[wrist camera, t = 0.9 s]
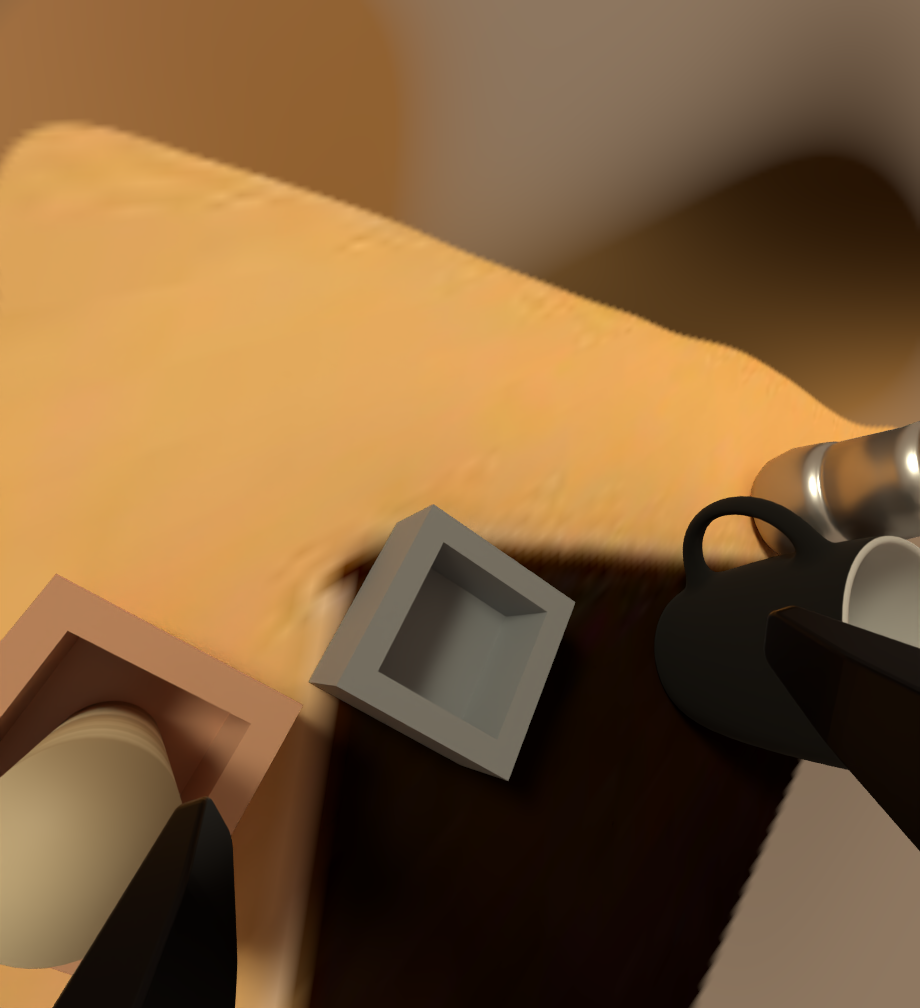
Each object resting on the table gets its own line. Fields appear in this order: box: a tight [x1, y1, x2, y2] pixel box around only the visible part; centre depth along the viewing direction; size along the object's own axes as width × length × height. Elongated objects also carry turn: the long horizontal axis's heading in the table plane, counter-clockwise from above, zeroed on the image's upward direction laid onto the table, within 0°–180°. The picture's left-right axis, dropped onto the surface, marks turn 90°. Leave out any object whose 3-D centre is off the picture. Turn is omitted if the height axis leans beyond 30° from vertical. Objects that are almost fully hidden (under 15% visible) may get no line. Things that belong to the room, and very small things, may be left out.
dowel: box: [0, 701, 182, 969], centre depth 13 cm, size 3×3×10 cm
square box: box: [0, 574, 303, 975], centre depth 16 cm, size 7×7×5 cm
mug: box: [654, 496, 920, 770], centre depth 26 cm, size 12×9×10 cm
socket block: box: [309, 504, 575, 781], centre depth 23 cm, size 7×7×4 cm
